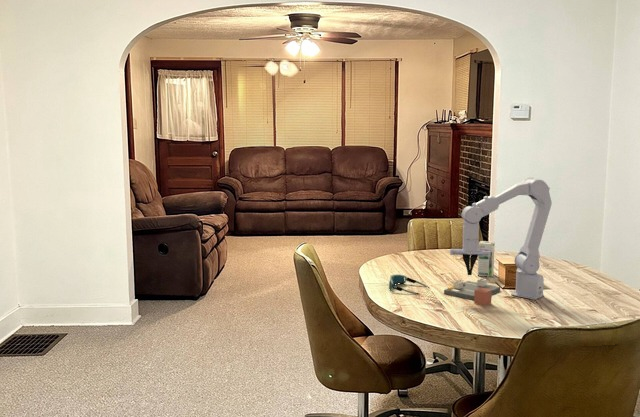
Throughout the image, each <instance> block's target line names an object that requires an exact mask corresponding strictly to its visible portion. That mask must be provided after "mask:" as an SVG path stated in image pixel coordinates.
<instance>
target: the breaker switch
mask: <svg viewBox="0 0 640 417" xmlns="http://www.w3.org/2000/svg"><path fill="white" fill-rule="evenodd" d="M476 280H477V281H476V282H477V286H481V287H484V286H486V285H488V284H487V283H488V282H487V280H488V279H486V277H481V278H479V279H476Z"/></svg>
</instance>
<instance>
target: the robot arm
mask: <svg viewBox="0 0 640 417" xmlns="http://www.w3.org/2000/svg"><path fill="white" fill-rule="evenodd" d="M550 189H551V188H550V187H549V185H548V184H547V182H545V181H544V180H542V179H537V178H534V177H527V178H525V179H524V180H520V181H518V182H517V183H516V184H513V185H511V186H510V187H509V188H507V189H505V190H504V191H501V192H500V193H499V194H497V195H495V196H493V195H489V196H487V195H485V196H483V199H481V200H479V201H478V202H473V203H471V205H468V206H465V207H464V208H463V210H462V212H461V213H460V215H461V218H462V219H463V220H462V221H463V223H462V224H463V225H462V248H450V249H449V255H450V256H455V255H456V256H462V260H463V262H464V264H465V267H466V271H467V276H472V275H473V269H474V267H475V264H476V261H478V256H487V257H490V254H491V251H485V250H479V235H480V234H479V232H480V225H479V224H480V221H481V219H482V218H483V217H486V216H488V215H489V214H491V213H493V212H495V211H497V210H498V209H499V206H500V205H501V204H504V203H505V202H507V201H509V200H512V199H514V198H516V197H518V196H528V197H529V198H530V199H531V200H532V202H533V203H534V204H535V206H534V210H533V214H532V216H531V219H530V220H531V221H530V223H529V226H528V230H527V233H526V237H525V240H524V243H523V245H522V246H521V247H520V249H519V252H517V254H516V255H515V257H514V264H515V266H516V273H515V276H516V277H515V292H512V293H511V296H514V297H519V298H525V299H529V300H534V301H535V300H538V299H540V298H542V297H543V296H545V295H544V281H545V279H544V275H542V274H539V273H537V272H538V270H539V269H540V264H541V263H540V257H541V255H540V251H539V248H540V245H541V242H542V238H543V234H544V232H545V229H546V225H547V221H548V218H549V215H550V212H551V207H552V205H553V204H552V198H551V194H550Z"/></svg>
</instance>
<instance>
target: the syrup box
mask: <svg viewBox="0 0 640 417" xmlns="http://www.w3.org/2000/svg"><path fill="white" fill-rule="evenodd" d="M495 243H496V242H495V241H488V240H487V241H486V240H481V241H478V250H485V251H491V254H490V257H487V256H478V257H477V264H478V266H477V276H478V275H479V276H478V277H484V276H487V277H486V278H491V277H493V275H494V272H495Z"/></svg>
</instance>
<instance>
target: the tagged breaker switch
mask: <svg viewBox="0 0 640 417" xmlns="http://www.w3.org/2000/svg"><path fill="white" fill-rule="evenodd" d="M463 282H464V281H462V279H459V280H455V281H453V282H452V283H453V285H452V287H453V288H456V289H460V288H463Z"/></svg>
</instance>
